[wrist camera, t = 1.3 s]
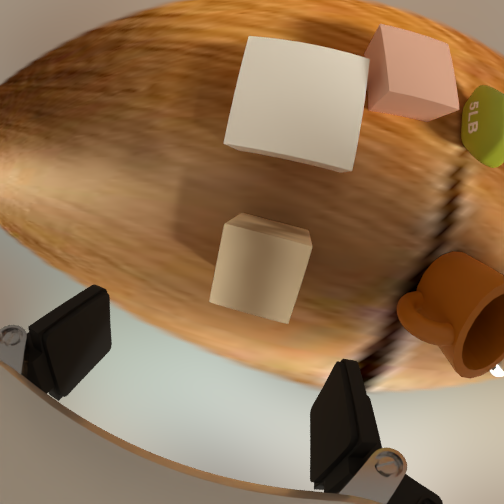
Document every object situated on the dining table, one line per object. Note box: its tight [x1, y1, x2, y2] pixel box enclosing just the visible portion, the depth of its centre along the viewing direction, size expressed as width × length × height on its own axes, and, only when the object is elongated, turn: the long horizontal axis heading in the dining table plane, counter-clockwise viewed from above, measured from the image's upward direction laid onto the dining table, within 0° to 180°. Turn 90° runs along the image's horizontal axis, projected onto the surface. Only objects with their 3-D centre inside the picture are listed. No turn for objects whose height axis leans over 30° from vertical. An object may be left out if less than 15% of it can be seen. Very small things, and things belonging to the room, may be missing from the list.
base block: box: [224, 36, 370, 173], centre depth 18 cm, size 9×9×5 cm
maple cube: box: [209, 213, 313, 324], centre depth 22 cm, size 6×6×6 cm
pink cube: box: [364, 24, 459, 122], centre depth 15 cm, size 6×6×6 cm
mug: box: [397, 251, 504, 378], centre depth 18 cm, size 9×12×9 cm
